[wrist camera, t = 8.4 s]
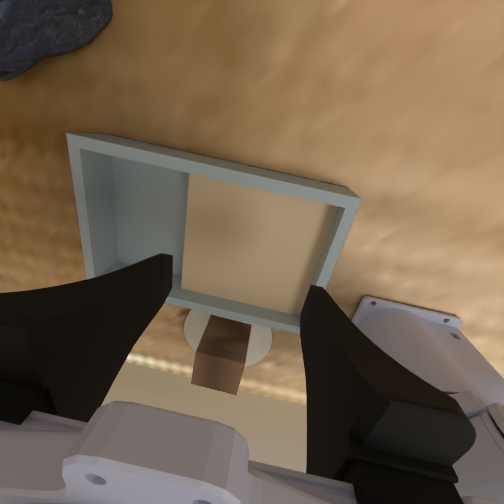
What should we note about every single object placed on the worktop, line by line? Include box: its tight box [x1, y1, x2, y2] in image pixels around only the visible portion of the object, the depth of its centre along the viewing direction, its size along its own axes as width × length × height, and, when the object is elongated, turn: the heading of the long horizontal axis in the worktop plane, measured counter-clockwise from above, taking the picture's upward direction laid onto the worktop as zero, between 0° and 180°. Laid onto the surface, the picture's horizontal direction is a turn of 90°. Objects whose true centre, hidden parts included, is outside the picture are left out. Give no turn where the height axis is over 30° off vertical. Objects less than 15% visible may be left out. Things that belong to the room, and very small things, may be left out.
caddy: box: [66, 133, 362, 335], centre depth 20 cm, size 20×12×4 cm, turn 79°
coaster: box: [184, 309, 272, 367], centre depth 27 cm, size 10×10×1 cm
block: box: [191, 315, 252, 395], centre depth 25 cm, size 4×4×5 cm
